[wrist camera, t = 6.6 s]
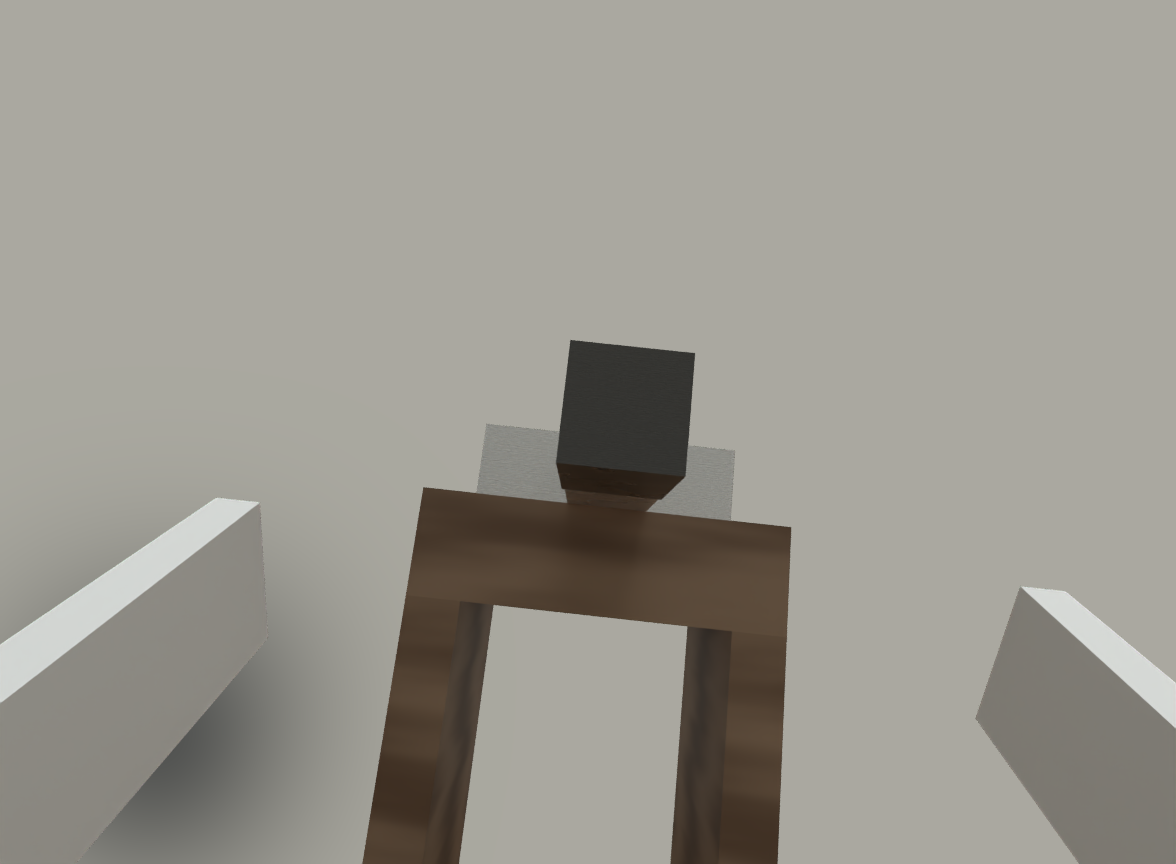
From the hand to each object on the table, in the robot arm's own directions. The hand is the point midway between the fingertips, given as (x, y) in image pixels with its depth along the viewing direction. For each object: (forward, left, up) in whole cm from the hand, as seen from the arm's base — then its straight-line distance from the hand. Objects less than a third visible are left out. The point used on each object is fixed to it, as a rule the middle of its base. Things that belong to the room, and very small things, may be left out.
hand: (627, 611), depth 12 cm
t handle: (-9, +10, +3) cm, 14 cm away
